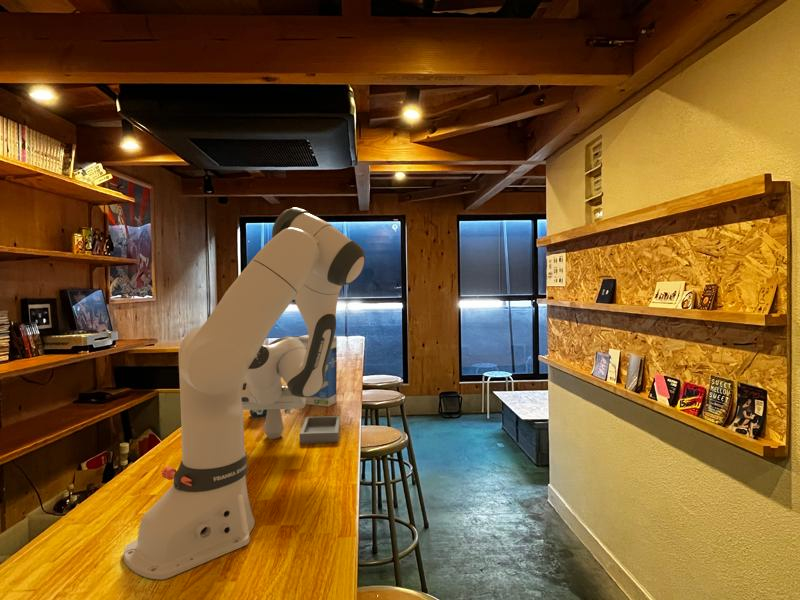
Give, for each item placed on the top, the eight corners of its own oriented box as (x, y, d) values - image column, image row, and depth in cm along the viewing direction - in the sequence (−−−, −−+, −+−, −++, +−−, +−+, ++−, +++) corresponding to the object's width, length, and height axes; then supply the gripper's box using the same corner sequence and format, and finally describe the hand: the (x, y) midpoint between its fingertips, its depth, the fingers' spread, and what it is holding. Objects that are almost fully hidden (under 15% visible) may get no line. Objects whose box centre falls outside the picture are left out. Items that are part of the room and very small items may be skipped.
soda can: (273, 412, 164) (272, 379, 164) (265, 418, 157) (265, 384, 157) (254, 412, 165) (254, 379, 164) (246, 418, 158) (245, 383, 157)
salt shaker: (278, 440, 137) (277, 397, 136) (260, 439, 138) (259, 396, 137) (287, 434, 142) (286, 392, 142) (270, 432, 143) (269, 391, 143)
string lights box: (297, 404, 175) (296, 336, 174) (307, 398, 183) (306, 334, 181) (328, 407, 171) (328, 338, 170) (338, 401, 178) (337, 335, 177)
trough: (337, 442, 135) (337, 432, 135) (299, 443, 134) (299, 433, 134) (340, 424, 151) (340, 415, 151) (306, 425, 150) (306, 416, 150)
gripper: (304, 378, 133) (309, 402, 143) (232, 379, 131) (242, 403, 142) (302, 397, 128) (307, 420, 139) (227, 398, 127) (238, 422, 138)
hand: (274, 412), depth 140 cm, fingers open, 7 cm apart
